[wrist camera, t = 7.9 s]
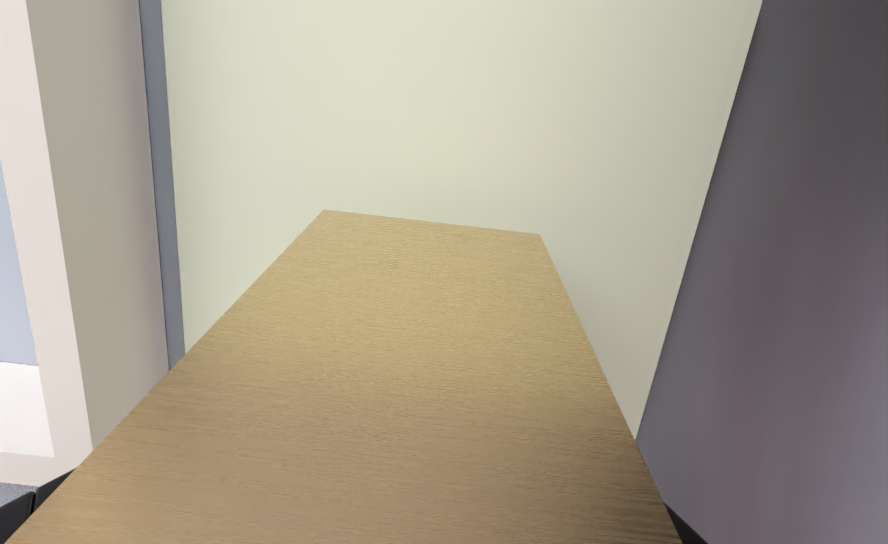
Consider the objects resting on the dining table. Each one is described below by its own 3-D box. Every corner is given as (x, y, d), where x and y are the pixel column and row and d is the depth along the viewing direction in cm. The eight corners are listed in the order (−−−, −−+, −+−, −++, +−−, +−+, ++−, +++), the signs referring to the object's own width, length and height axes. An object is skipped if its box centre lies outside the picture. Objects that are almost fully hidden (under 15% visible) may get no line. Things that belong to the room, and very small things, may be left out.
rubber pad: (750, -3, 10) (764, -7, 10) (595, 548, 15) (599, 564, 15) (169, -74, 10) (155, -80, 10) (205, 506, 15) (196, 520, 15)
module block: (540, 233, 10) (772, 738, 3) (500, 453, 12) (566, 1128, 4) (323, 209, 10) (-96, 647, 2) (316, 432, 12) (62, 1079, 4)
